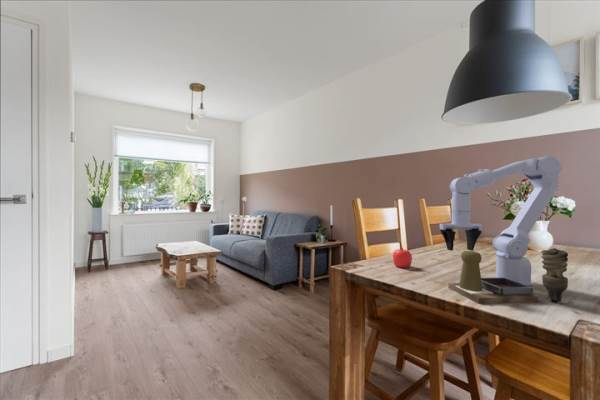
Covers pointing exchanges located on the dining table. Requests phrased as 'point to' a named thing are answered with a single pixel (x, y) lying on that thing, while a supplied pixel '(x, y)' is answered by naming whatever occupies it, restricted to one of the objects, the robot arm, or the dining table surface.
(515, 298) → the walnut board
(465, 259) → the cork
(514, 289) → the dark grey tray
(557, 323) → the dining table surface
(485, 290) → the mat
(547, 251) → the light bulb
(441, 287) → the dining table surface
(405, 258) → the apple
